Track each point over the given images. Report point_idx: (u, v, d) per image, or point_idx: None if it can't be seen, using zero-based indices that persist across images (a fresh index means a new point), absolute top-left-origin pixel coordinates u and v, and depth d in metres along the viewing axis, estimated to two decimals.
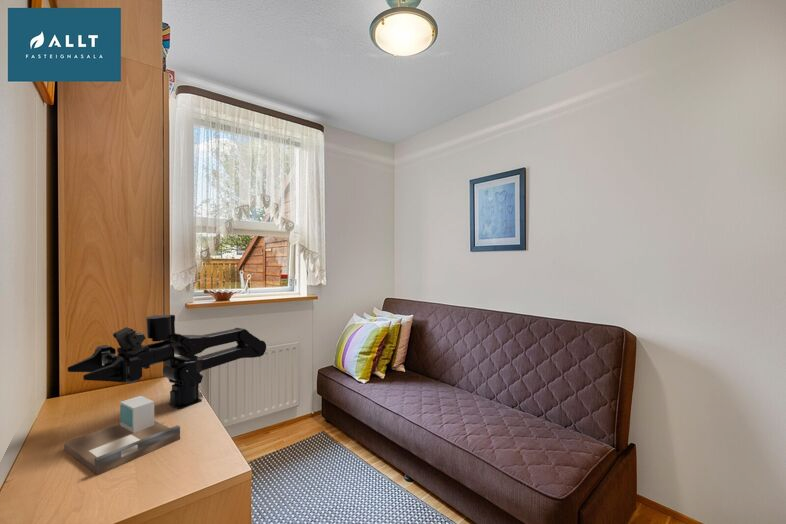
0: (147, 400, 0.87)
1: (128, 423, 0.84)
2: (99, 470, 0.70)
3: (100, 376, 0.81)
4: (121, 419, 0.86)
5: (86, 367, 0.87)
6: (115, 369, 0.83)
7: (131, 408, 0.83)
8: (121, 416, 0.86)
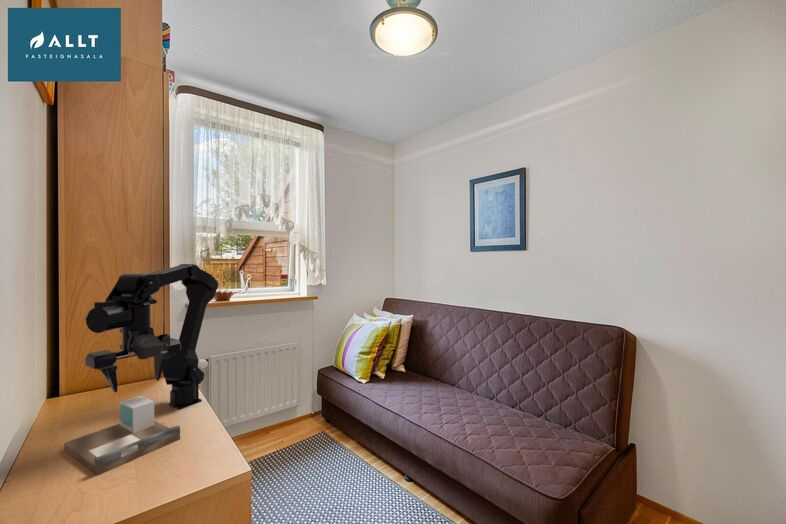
0: (147, 400, 0.87)
1: (128, 423, 0.84)
2: (99, 470, 0.70)
3: None
4: (121, 419, 0.86)
5: None
6: None
7: (131, 408, 0.83)
8: (121, 416, 0.86)
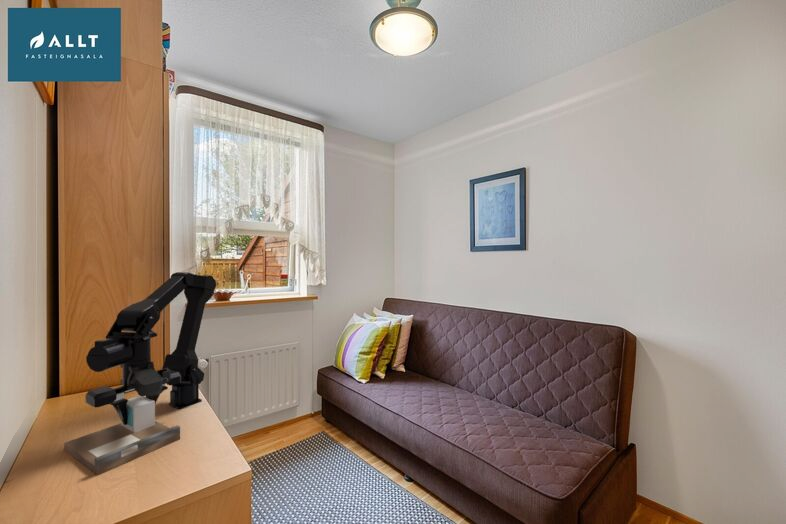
0: (148, 400, 0.87)
1: (129, 423, 0.84)
2: (99, 470, 0.70)
3: None
4: None
5: None
6: None
7: (132, 408, 0.84)
8: None
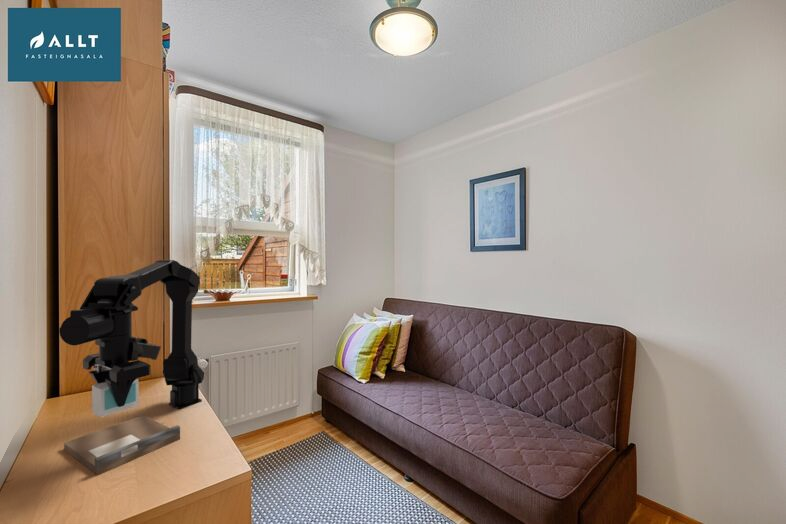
0: None
1: (129, 400, 0.77)
2: (99, 470, 0.70)
3: None
4: (108, 406, 0.74)
5: None
6: None
7: (133, 382, 0.78)
8: (109, 402, 0.74)
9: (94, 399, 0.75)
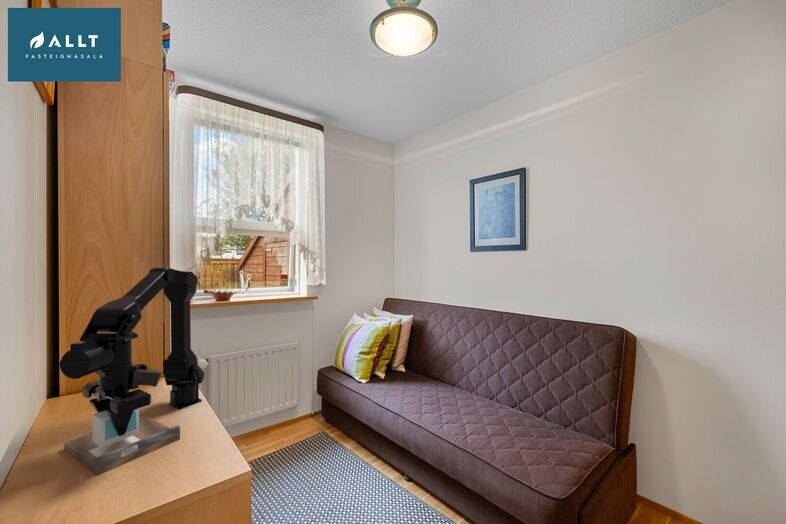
0: None
1: (129, 428, 0.77)
2: (99, 470, 0.70)
3: None
4: (109, 436, 0.74)
5: None
6: None
7: None
8: (109, 432, 0.74)
9: (94, 429, 0.75)
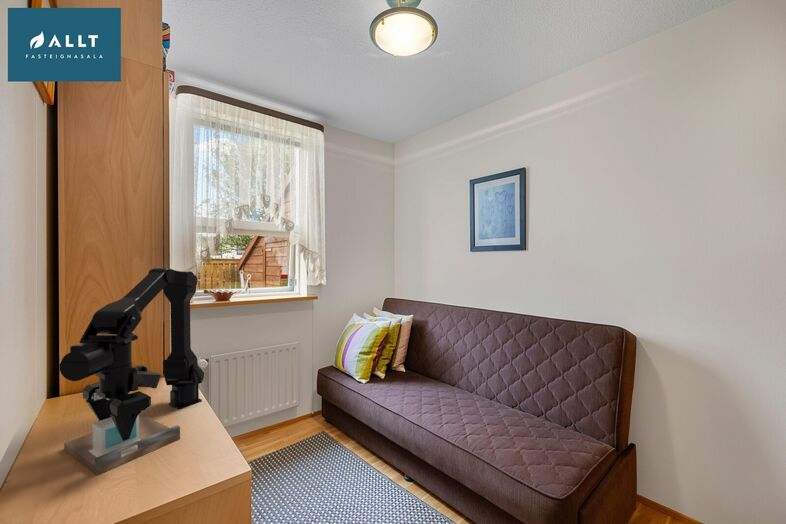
0: None
1: (130, 437, 0.77)
2: (99, 470, 0.70)
3: None
4: (109, 444, 0.74)
5: None
6: None
7: None
8: (109, 441, 0.74)
9: (94, 437, 0.75)
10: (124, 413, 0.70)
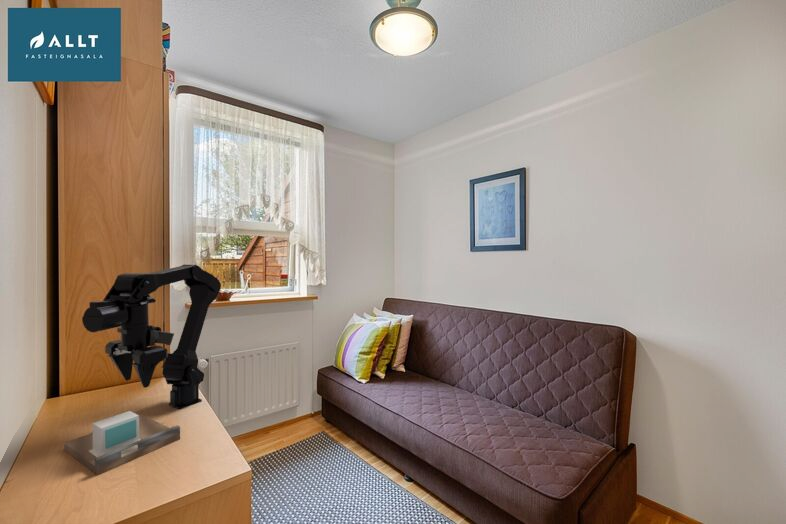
0: (120, 414, 0.79)
1: (130, 437, 0.77)
2: (99, 470, 0.70)
3: None
4: (109, 444, 0.74)
5: None
6: None
7: (133, 418, 0.78)
8: (109, 441, 0.74)
9: (94, 437, 0.75)
10: (145, 361, 0.81)
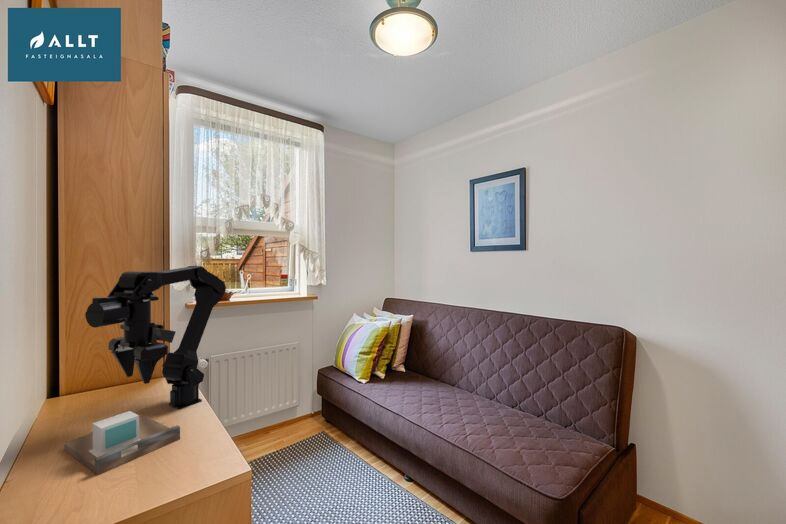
0: (120, 414, 0.79)
1: (130, 437, 0.77)
2: (99, 470, 0.70)
3: None
4: (109, 444, 0.74)
5: None
6: None
7: (133, 418, 0.78)
8: (109, 441, 0.74)
9: (94, 437, 0.75)
10: (146, 357, 0.83)
